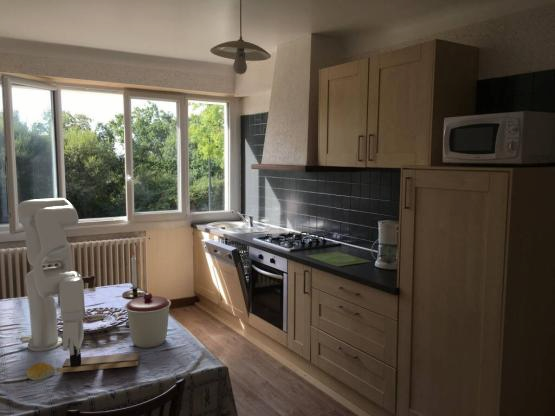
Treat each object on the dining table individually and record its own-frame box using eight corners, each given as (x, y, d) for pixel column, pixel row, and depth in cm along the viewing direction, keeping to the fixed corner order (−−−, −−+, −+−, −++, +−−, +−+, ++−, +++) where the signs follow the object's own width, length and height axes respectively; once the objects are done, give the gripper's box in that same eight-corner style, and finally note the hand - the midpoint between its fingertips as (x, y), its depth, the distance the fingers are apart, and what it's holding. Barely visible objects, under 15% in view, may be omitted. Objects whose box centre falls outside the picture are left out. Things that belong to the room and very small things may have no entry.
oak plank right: (98, 369, 160) (99, 364, 160) (103, 368, 169) (103, 364, 170) (135, 365, 162) (135, 361, 163) (137, 365, 172) (137, 361, 172)
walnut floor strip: (62, 371, 167) (62, 366, 167) (66, 363, 173) (66, 358, 173) (138, 364, 173) (137, 359, 172) (139, 357, 178) (139, 352, 178)
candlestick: (125, 330, 204) (121, 252, 200) (122, 321, 214) (119, 247, 209) (150, 326, 209) (147, 249, 204) (146, 318, 219) (144, 245, 214)
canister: (160, 354, 181) (159, 301, 178) (117, 350, 184) (115, 299, 182) (178, 335, 199) (177, 287, 196) (139, 332, 202) (137, 285, 199)
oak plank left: (56, 372, 157) (56, 368, 157) (63, 372, 166) (63, 367, 167) (94, 369, 159) (94, 364, 160) (99, 368, 169) (99, 364, 169)
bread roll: (44, 367, 171) (43, 357, 170) (58, 374, 166) (57, 363, 165) (21, 376, 164) (20, 366, 163) (35, 383, 159) (35, 372, 158)
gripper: (66, 307, 163) (69, 357, 165) (55, 322, 148) (58, 377, 151) (88, 305, 165) (91, 355, 167) (80, 321, 150) (83, 374, 152)
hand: (75, 365), depth 159 cm, fingers closed
